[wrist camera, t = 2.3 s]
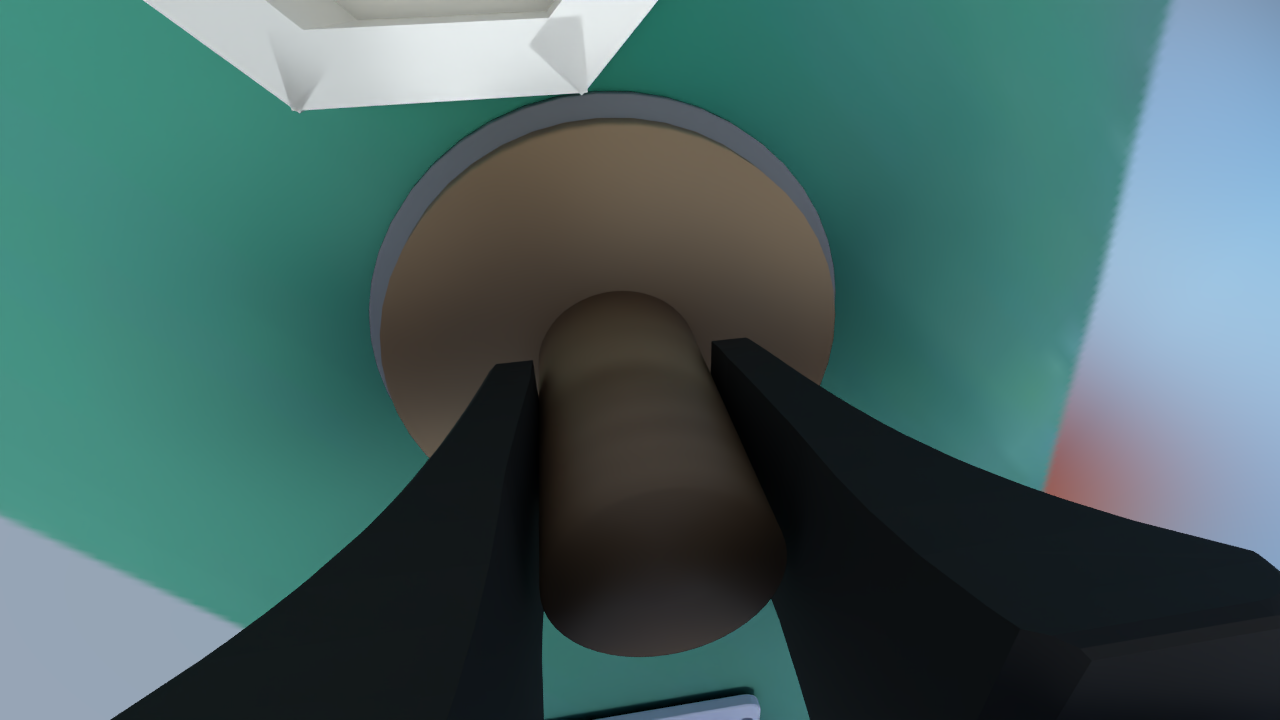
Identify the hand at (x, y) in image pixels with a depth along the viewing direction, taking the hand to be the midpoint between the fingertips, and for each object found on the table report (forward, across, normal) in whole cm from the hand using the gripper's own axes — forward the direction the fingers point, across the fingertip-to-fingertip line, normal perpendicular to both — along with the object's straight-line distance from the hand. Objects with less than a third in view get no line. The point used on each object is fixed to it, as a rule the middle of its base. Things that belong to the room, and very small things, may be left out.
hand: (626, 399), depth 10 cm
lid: (+2, 0, 0) cm, 2 cm away
